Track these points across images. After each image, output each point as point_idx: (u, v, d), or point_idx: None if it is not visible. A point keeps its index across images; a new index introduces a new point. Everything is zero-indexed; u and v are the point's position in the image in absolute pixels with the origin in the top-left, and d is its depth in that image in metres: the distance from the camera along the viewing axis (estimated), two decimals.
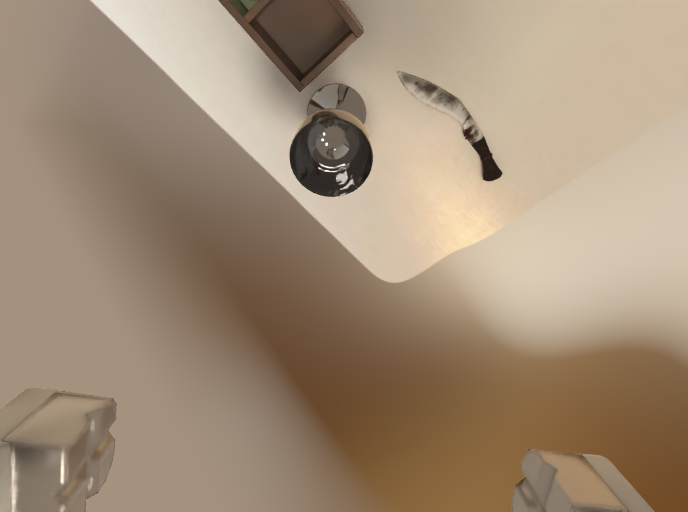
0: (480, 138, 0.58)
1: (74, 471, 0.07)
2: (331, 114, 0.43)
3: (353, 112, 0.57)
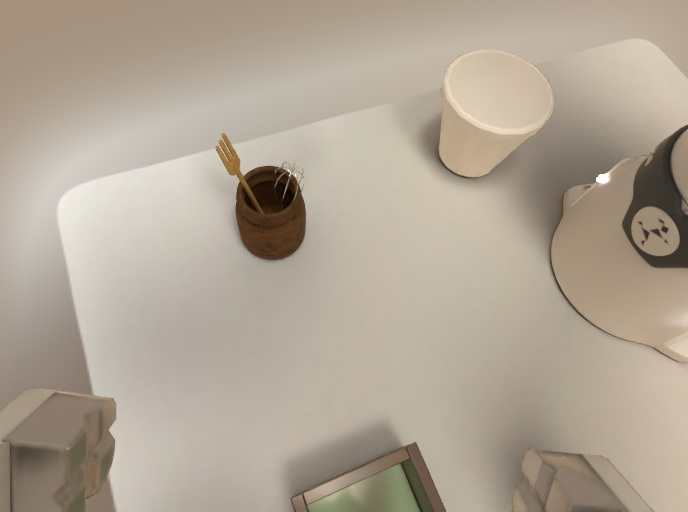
0: None
1: (74, 471, 0.07)
2: None
3: None
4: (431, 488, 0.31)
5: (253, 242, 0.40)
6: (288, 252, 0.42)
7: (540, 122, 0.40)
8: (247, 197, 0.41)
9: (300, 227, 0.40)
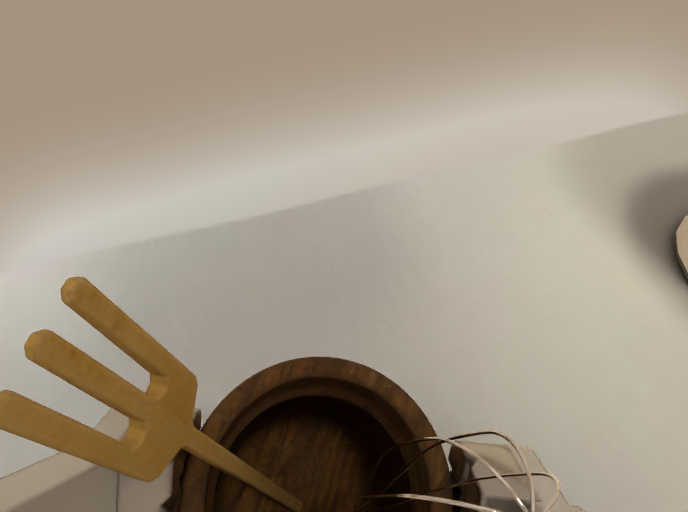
0: None
1: (175, 482, 0.08)
2: None
3: None
4: None
5: None
6: None
7: None
8: None
9: None
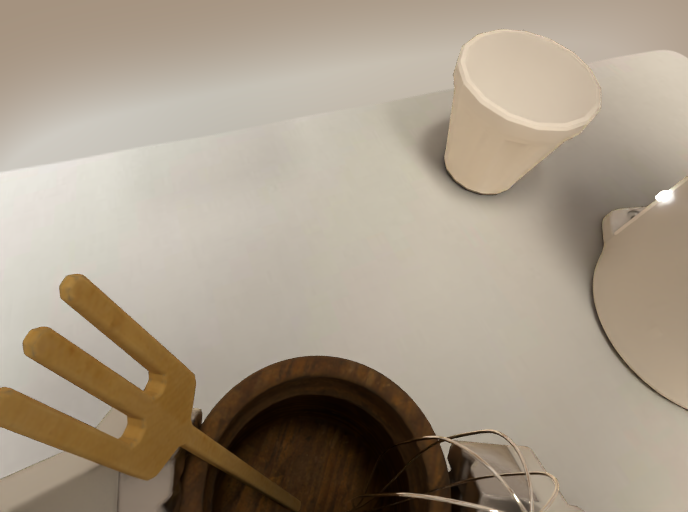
0: None
1: (177, 483, 0.08)
2: None
3: None
4: None
5: None
6: None
7: (587, 117, 0.30)
8: None
9: None
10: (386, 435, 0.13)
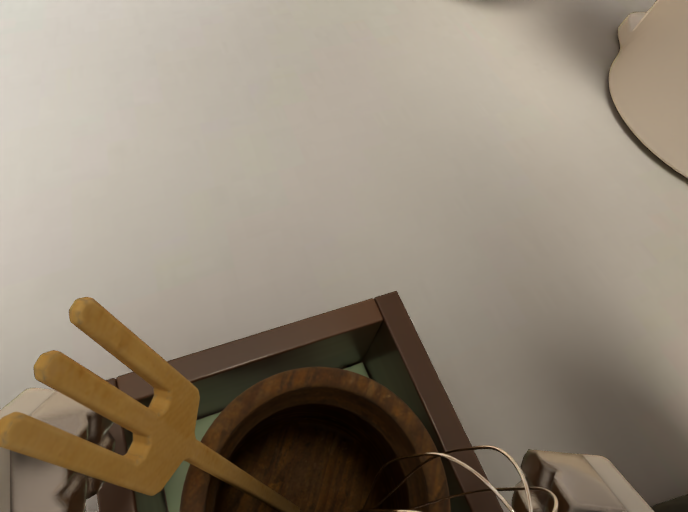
0: None
1: (74, 471, 0.07)
2: None
3: None
4: (430, 382, 0.13)
5: None
6: None
7: None
8: None
9: None
10: (385, 442, 0.13)
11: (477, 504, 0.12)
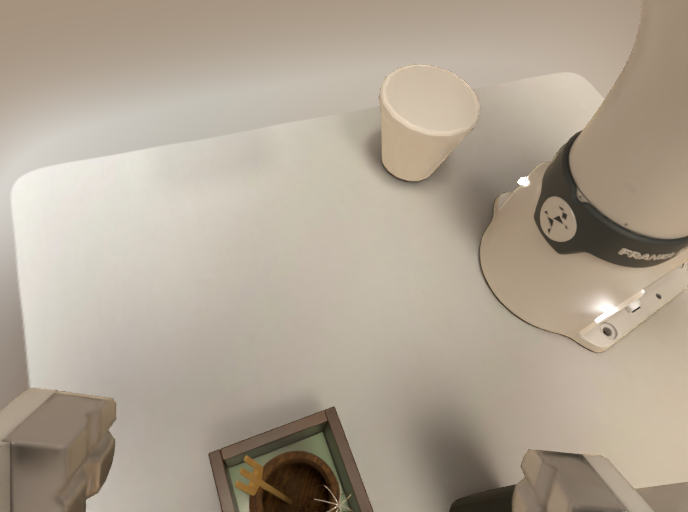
0: None
1: (74, 471, 0.07)
2: None
3: None
4: (345, 448, 0.33)
5: None
6: None
7: (466, 127, 0.44)
8: None
9: None
10: None
11: (359, 498, 0.31)
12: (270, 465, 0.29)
